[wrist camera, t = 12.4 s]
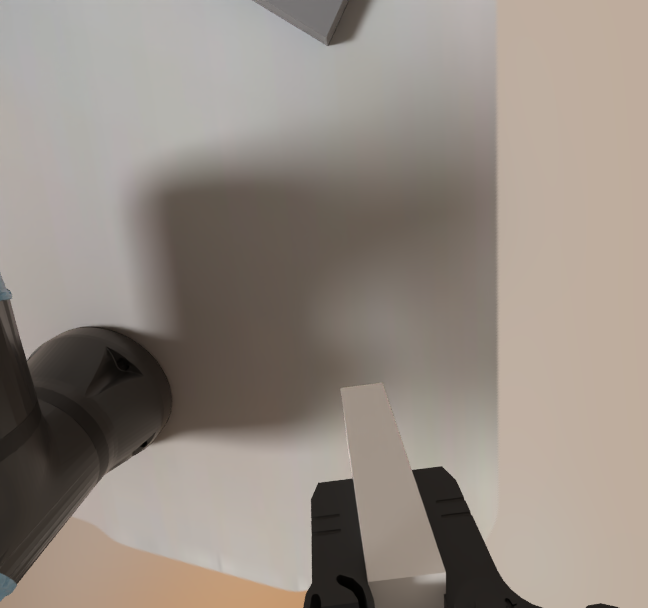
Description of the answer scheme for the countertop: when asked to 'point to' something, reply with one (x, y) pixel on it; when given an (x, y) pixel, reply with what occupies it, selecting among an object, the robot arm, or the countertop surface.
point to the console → (309, 15)
